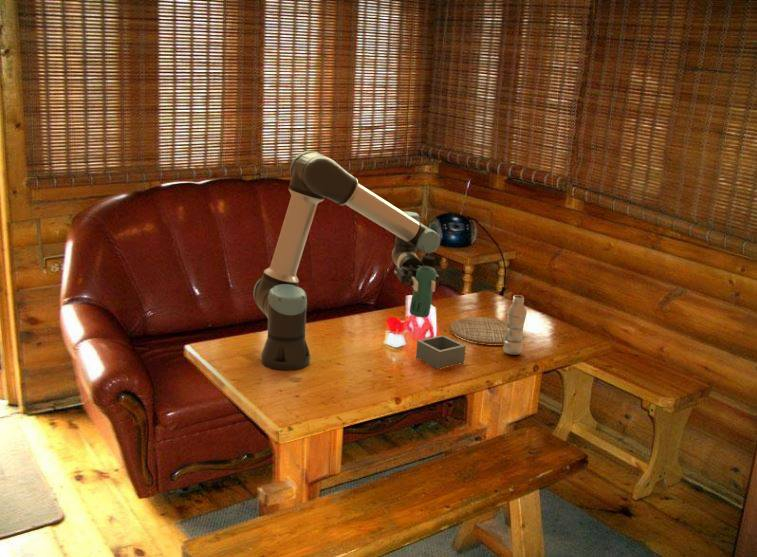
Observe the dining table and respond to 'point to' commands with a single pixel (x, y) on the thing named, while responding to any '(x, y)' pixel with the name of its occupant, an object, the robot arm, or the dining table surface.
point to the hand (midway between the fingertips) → (425, 287)
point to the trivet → (480, 330)
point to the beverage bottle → (423, 288)
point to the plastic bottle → (515, 326)
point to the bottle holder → (440, 351)
